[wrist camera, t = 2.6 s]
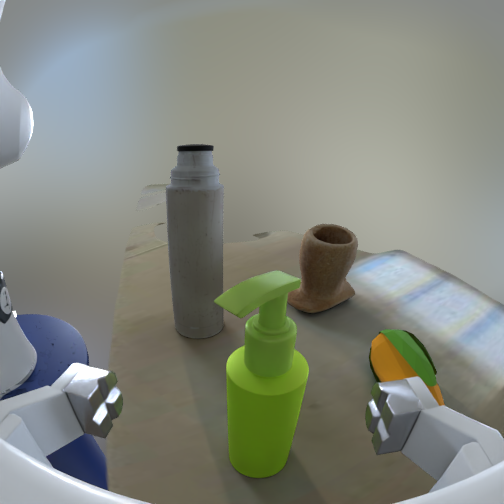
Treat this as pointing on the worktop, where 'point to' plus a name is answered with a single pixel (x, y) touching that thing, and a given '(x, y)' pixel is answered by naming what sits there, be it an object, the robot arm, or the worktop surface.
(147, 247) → the worktop surface
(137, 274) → the worktop surface
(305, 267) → the stone cup
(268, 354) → the soap dispenser
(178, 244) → the thermos bottle
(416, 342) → the corn
